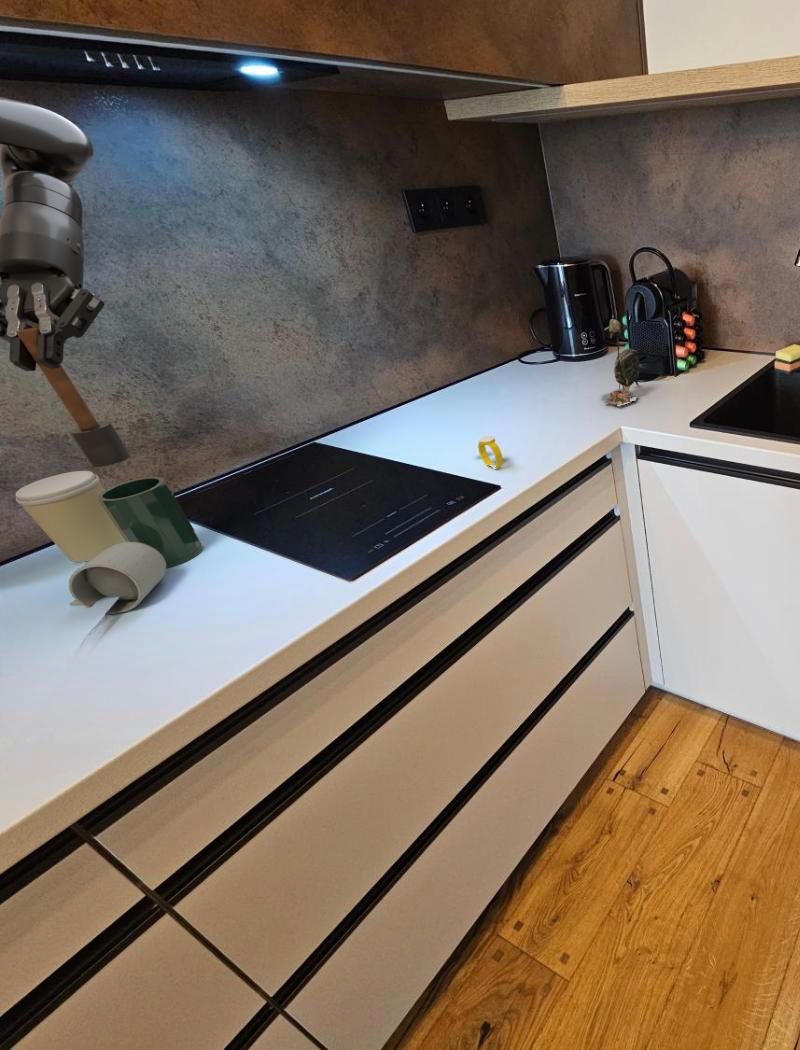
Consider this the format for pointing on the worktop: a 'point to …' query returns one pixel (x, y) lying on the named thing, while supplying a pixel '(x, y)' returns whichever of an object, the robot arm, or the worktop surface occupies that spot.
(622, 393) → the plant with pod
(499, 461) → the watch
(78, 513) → the coffee cup
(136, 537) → the green patterned cylindrical cup
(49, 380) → the mallet
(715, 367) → the worktop surface
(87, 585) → the ceramic mug
